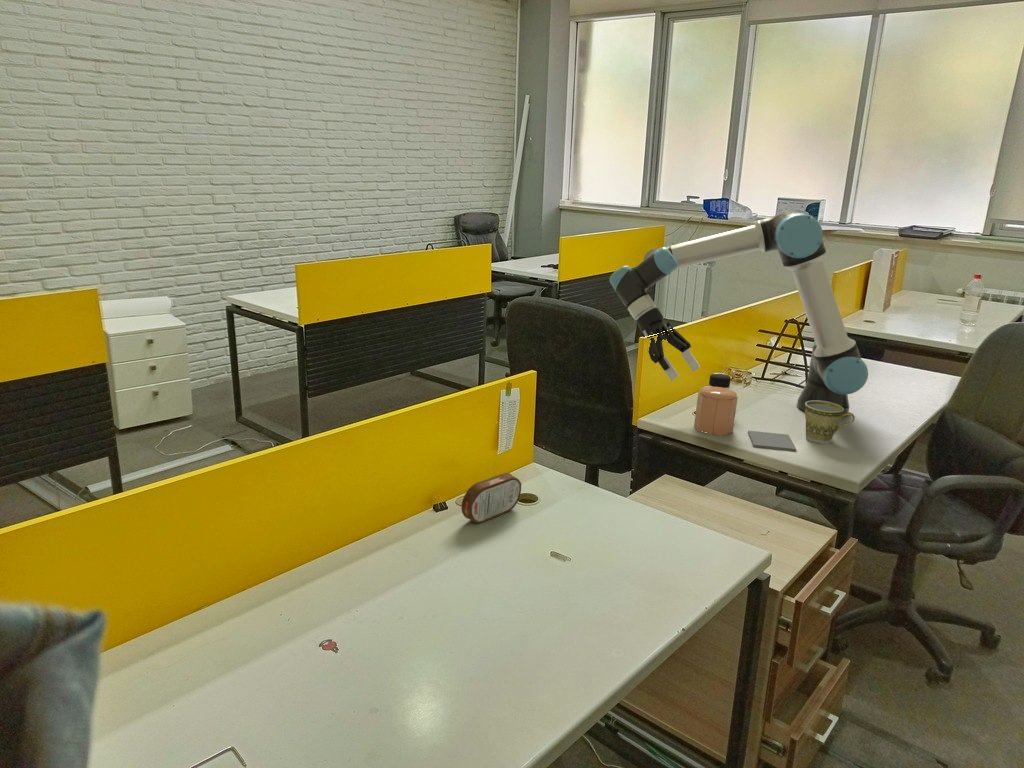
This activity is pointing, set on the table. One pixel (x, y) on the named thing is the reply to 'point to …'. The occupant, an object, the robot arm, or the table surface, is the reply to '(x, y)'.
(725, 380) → the medicine bottle
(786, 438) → the slate mat
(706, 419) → the peach domed post
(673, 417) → the table surface
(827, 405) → the ceramic cup
